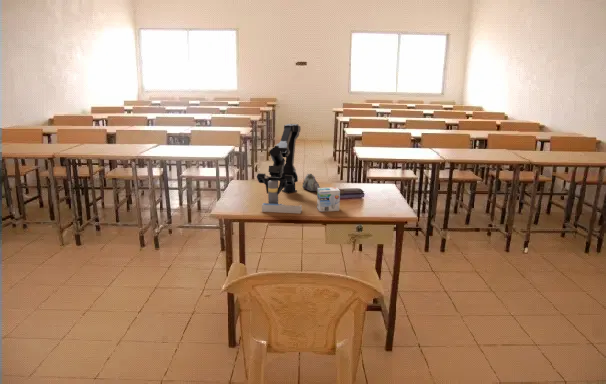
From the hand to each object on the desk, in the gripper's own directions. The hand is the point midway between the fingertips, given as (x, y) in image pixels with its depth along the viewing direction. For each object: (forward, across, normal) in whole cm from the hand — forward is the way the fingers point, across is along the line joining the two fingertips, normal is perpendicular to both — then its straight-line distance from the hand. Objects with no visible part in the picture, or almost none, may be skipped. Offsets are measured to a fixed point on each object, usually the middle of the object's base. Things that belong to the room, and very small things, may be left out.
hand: (272, 193), depth 230 cm
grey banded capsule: (+4, 0, +6) cm, 7 cm away
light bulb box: (+2, +28, +11) cm, 30 cm away
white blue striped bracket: (+7, +5, +4) cm, 10 cm away
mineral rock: (-21, +12, +33) cm, 41 cm away
